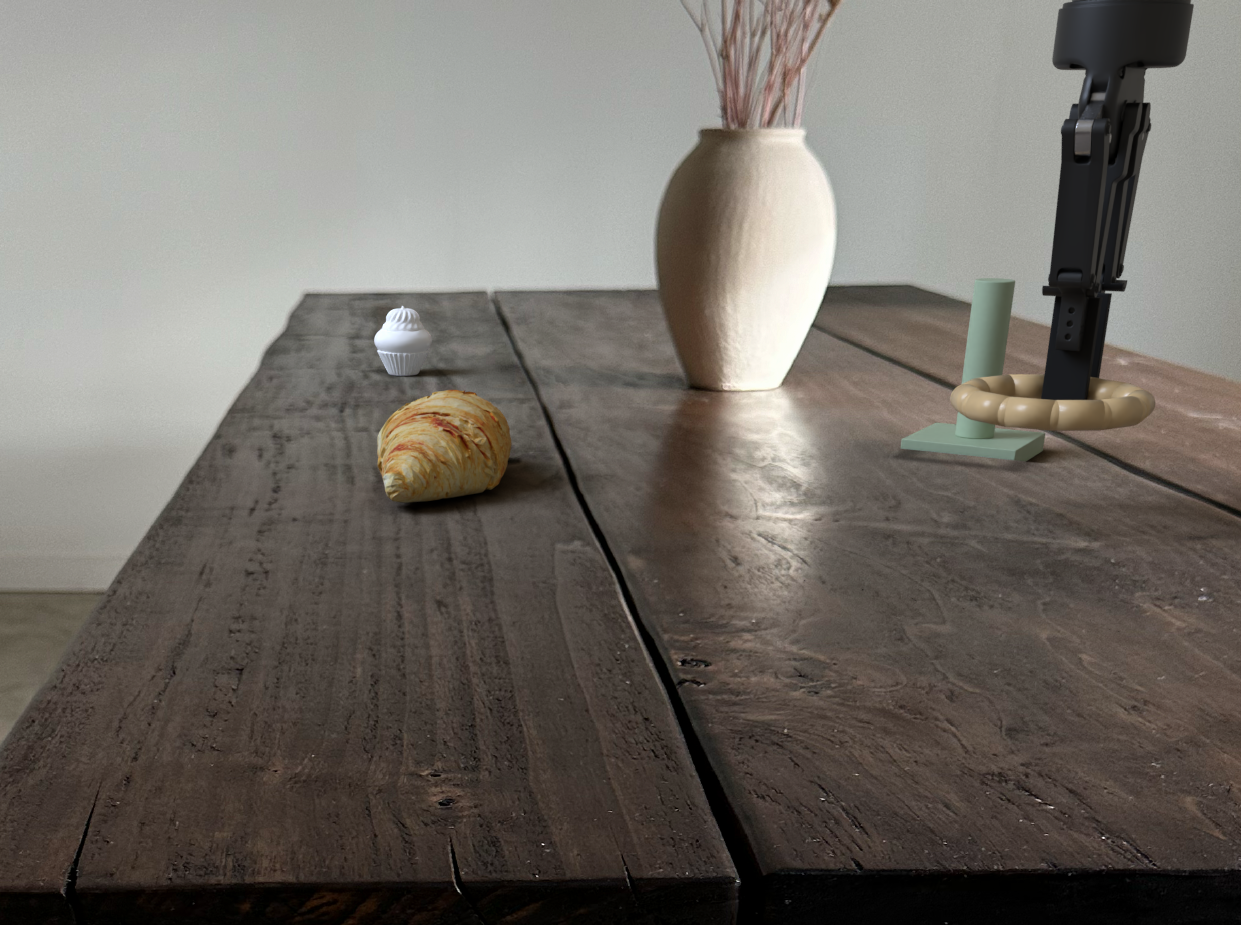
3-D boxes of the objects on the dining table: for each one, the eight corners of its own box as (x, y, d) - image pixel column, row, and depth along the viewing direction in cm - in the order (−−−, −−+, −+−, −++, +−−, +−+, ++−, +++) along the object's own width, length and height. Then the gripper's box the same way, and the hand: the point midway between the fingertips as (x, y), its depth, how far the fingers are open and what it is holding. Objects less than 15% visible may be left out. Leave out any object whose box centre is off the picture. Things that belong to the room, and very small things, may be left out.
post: (1043, 451, 131) (1069, 278, 125) (1013, 469, 124) (1039, 287, 119) (933, 440, 135) (954, 272, 130) (899, 457, 129) (919, 281, 123)
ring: (1166, 409, 103) (1171, 380, 102) (1128, 439, 94) (1133, 408, 93) (980, 394, 109) (983, 367, 108) (928, 422, 100) (931, 393, 99)
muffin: (431, 378, 168) (431, 308, 166) (373, 378, 168) (372, 308, 166) (432, 369, 174) (432, 302, 171) (376, 369, 174) (375, 302, 171)
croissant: (435, 565, 111) (487, 466, 107) (313, 489, 112) (361, 388, 108) (515, 495, 129) (563, 409, 125) (411, 431, 130) (455, 343, 126)
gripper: (1090, 5, 103) (1039, 379, 112) (1029, -8, 92) (978, 410, 101) (1217, -1, 99) (1153, 387, 109) (1169, -15, 88) (1102, 420, 97)
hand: (1068, 397), depth 105 cm, fingers closed on ring, 2 cm apart
